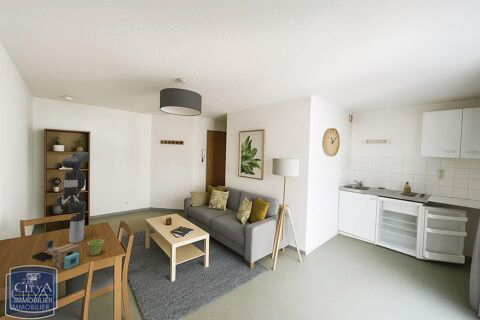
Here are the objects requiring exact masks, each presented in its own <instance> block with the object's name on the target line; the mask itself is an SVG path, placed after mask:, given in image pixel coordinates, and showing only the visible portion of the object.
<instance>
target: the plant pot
mask: <svg viewBox="0 0 480 320" xmlns="http://www.w3.org/2000/svg"><path fill="white" fill-rule="evenodd" d="M103 244H104V240H103V239H94V240H90V241H89V242H87V245H88V249H89V256H92V257H93V256H98V255H100V254H101V251H102V246H103Z"/></svg>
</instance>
